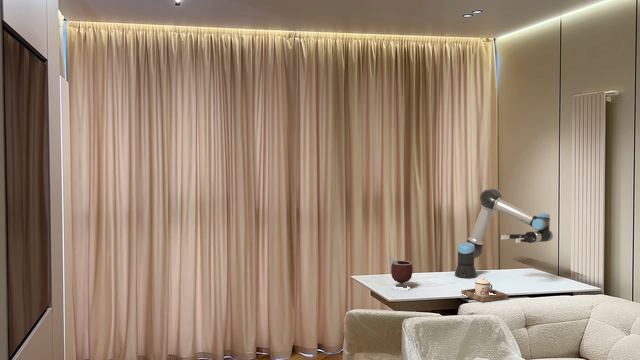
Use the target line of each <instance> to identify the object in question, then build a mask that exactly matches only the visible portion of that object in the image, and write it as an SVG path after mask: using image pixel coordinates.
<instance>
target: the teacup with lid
mask: <svg viewBox="0 0 640 360" xmlns="http://www.w3.org/2000/svg"><path fill="white" fill-rule="evenodd" d="M474 284H475V285H474V289H475V294H476V295H479V296H482V297H486V296H489V291H491V290H492V289H493V285H492V283H491V282H490V281H489V280H487V279H486V278H485V277H483V276H482V277H480V278H479V279H477V280H475V282H474Z"/></svg>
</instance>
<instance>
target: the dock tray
mask: <svg viewBox="0 0 640 360" xmlns="http://www.w3.org/2000/svg"><path fill="white" fill-rule="evenodd" d="M489 292H490V293H493V294H496V295H489V296H486V297H482V296H479V295H476V294H474V293H475V288H468V289H461V291H460V294H461V293H462V294H464V295H466V296H468V297H467V298H468V299H471V300H474V301H476V302H479V303H481V304H483V303H484V304H485V303H492V302H493V303H494V302H497V301H499V302H500V301H507V300H509V294H508V293H505V292H502V291H499V290H496V289H493V288H492V290H491V291H489Z"/></svg>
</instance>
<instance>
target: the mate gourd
mask: <svg viewBox="0 0 640 360" xmlns="http://www.w3.org/2000/svg"><path fill="white" fill-rule="evenodd" d="M390 259H392V261H391V267H390V272H391V273H390V275H391V278H392V280H394V282H397V283H398V284H396V285H397V286H396V287H403V288H407V286H408V285H406V286H404V285H405V284H404V283H408V282H409V281H410V280H411V279H412V278H413V277H412V276H413V264H412V262H411V261H408V260H397V259H396V258H394V257H393V256H390Z"/></svg>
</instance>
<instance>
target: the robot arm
mask: <svg viewBox="0 0 640 360" xmlns="http://www.w3.org/2000/svg"><path fill="white" fill-rule="evenodd" d="M479 201H480V206H481V209H480V212H479V213H478V217H477V218H476V219H477V220H476V222H475V225H474V227H473V230H472V232H471V235H470V237H468V238H467V240H466V242H460V243H458V246H457V266H456V269H455V271H454V276H455V277H456V278H461V279H475V278H477V271H476V267H475V259H476V258H478V257H480V256H481V255H482V252H483V247H484V241H483V240H484V237H485V235H486V232H487V230H488V226H489V224H490V221H491V219H492V216H493V213H494V212H495V211H496V210H497V211H499V212H501V213H502V214H505V215H508V216H510V217H512V218H514V219H515V220H518V221H520V222H522V223H523V224H526V225H528V226H530V227H532V228H533V229H534V230H535V231H533V230H532V231H527V232H526V233H525V234H524V233H522V234H521V233H518V234H517V233H516V234H514V233H512V234H511V233H507V234H503V235H502V234H501V235H500V236H501V237H500V240H501V241H502V240H508V241H509V240H510V239H511V240H513V239H514V240H515V243H516V244H519V243H528V244H531V243H535V244H537V243H541V242H542V243H544V242H545V243H546V242H550V241H552V240H553V237H554V235H553V232H552V230H550V225H551V223H550V220H551V218H550V217H551V216H550V214H549V213H546V212H545V213H544V212H541V213H538V215H535V214H533V213H531V212H528V211H526V210H524V209H522V208H519V207H518V206H516V205H514V204H511V203H509V202H507V201H505V200H503V195H502V193H501V191H500V190H499V189H496V188H490V189H485V190H483V191H481V193H480V196H479Z"/></svg>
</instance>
